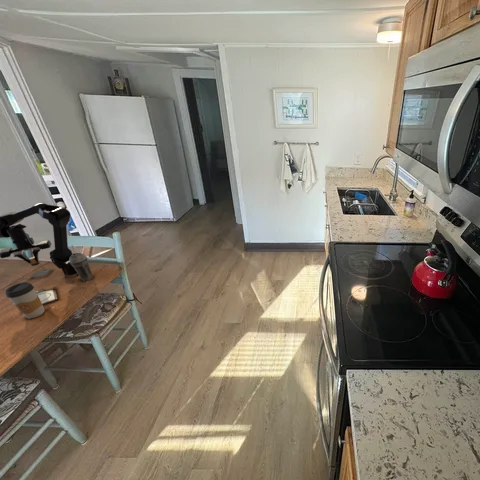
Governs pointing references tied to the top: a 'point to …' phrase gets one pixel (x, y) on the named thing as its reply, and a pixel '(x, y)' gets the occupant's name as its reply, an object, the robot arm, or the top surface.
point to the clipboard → (47, 296)
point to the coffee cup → (25, 299)
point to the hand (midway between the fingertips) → (34, 262)
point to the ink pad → (41, 273)
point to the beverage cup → (81, 265)
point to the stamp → (33, 261)
